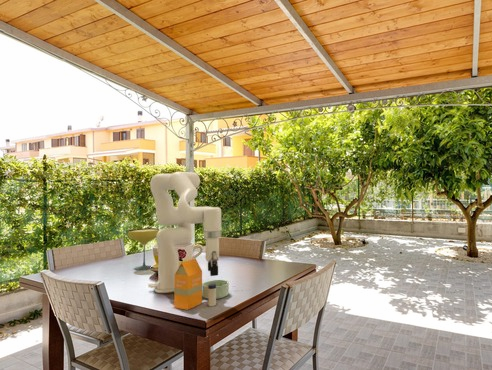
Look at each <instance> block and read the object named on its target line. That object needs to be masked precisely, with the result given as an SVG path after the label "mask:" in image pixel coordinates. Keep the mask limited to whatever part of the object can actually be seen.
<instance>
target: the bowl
mask: <svg viewBox="0 0 492 370" xmlns="http://www.w3.org/2000/svg"><path fill="white" fill-rule="evenodd" d="M209 284H216V300H219V299H223V298H225V297H227V296H228V295H229V294H230V282H229V281H228V280H225V279H212V280H208V281H206V282H202V298H204V299H206V300H208V285H209Z"/></svg>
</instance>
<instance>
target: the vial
mask: <svg viewBox="0 0 492 370" xmlns="http://www.w3.org/2000/svg"><path fill="white" fill-rule="evenodd" d="M207 300H208V302H207V303H208V305H207V306H209V307H214V306H216V305H217V299H216V284H209V285H208V299H207Z"/></svg>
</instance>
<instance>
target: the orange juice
mask: <svg viewBox="0 0 492 370" xmlns="http://www.w3.org/2000/svg"><path fill="white" fill-rule="evenodd" d="M173 293H174V300H173V301H174V303H173V305H174V306H173V307H174V308H175V309H181V310H186V311H187V310H191V309H193V308H195V307H196V306H199V305H201V304H203V270H202V268H201V266H200V265H199V262H198V260H197V258H192V259H188V260H185V261H182V262H181V263H180V264H179V268H178V270H177V272H176V273H175V288H174V292H173Z"/></svg>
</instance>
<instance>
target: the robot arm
mask: <svg viewBox="0 0 492 370" xmlns="http://www.w3.org/2000/svg"><path fill="white" fill-rule="evenodd" d="M200 184H201V179H200V176H199V175H198V174H197V173H196V172H194V171H174V172H173V173H157V174H155V175H153V176H152V177H151V179H150V188H149V189H150V192H151V195H152V197H153V200H154V204H155V213H156V219H157V224H158V225H159V226H162V227H167V228H163V229H159V230H160V231H159V232H158V233H157V236H156V238H155V239H156V244H157V253H158V258H157V260H158V262H157V263H158V264H157V265H158V269H157V275H158V277H157V279H158V280H157V281H155V282H151V283H148V284H147V286H148V287H147V288H150V289H154V292H155V293H157V294H169V293H174V288H175V273H176V272H177V270H178V268H179V266H180V254H179V252H178V250H177V249H176V247H177V246H183V245H188V244H190V243H191V242H192V239H193V229H192V224H193V225H195V224H203V239H204V240H205V260H206V262H207V271H208V272H209V276H210V277H212V276H213V277H214V276H215V277H216V276H219V263H218V261H220V260H219V259H220V239H221V238H222V209H221V207H217V206H208V205H207V206H191V205H190V204H189V203H190V202H192V201H194V200H195V199H196V198H197V197H198V193H199V192H198V189H197V188H198V187H199V186H200ZM168 191H175V193H176V195H177V196H178V197H179V199H178V202H177V206H175V205H174V200H173V197H172V196H171V194H170V193H169V192H168ZM170 226H175V227H170ZM176 226H177V227H176Z"/></svg>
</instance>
